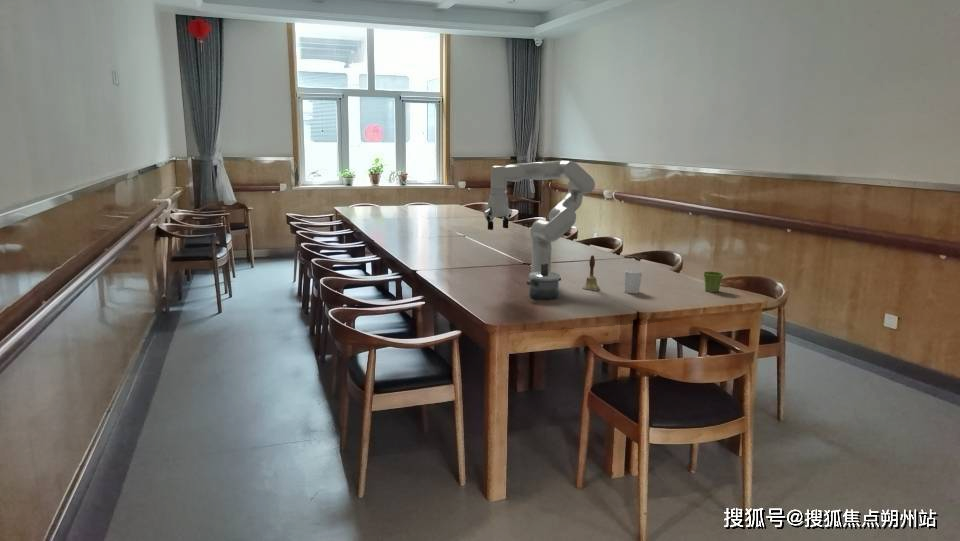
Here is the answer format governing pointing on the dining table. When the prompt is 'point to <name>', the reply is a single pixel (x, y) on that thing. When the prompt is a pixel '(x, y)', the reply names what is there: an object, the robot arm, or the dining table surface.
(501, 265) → the dining table surface
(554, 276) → the lid
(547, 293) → the pot
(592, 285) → the hand bell
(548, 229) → the robot arm
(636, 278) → the white cup
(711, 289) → the plant pot
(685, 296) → the dining table surface
